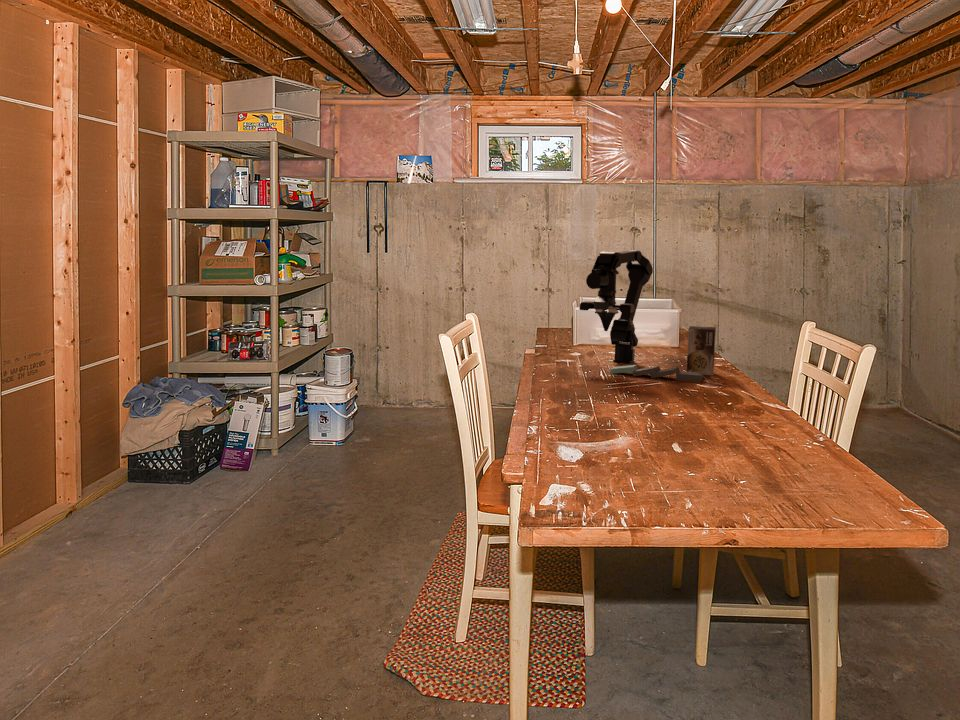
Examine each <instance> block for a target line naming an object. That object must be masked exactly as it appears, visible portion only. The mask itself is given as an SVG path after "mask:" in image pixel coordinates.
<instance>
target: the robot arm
mask: <svg viewBox="0 0 960 720" xmlns="http://www.w3.org/2000/svg"><path fill="white" fill-rule="evenodd" d="M625 263H626V265H625V268H626V270H627V272H628V274H627V276H628V280H629V286H628V289H627V292H626V296H625V300H624V302H623V303H620V304H617V301H616V294H617V288H616V287H617V275H619V270H617V269H618V268H620V267H621V266H622V265H623V264H625ZM653 271H654V269H653V265H652V264H651V261H650V260H649V259H648V258H647V257H645V256H644V255H643V253H642V252H641V250H638V249H629V250H624V251H620V252H618V251H617V252H616V251H615V252H614V251H600V252H599V254H598V255H597V257H596V259H595V262H594V264H593V266H592V268H591V273H589V274H588V275H587V277H586V279H585V281H586V282H585V283H586V285H587V287H588V288H589V289H590V290H591V289H592V290H598V292H597V296H596V297H595V299H594V300H593V301H589V300H588V301H587V300H585V301H582V302H580V303H579V310H580V311H589V310H595V311H594V314H596V315H598V316H599V319H600V321H601V324H602V327H603V331H604V332H608V331H609V329H610V332H609V337H610V343H611V345H613V346H614V359H613V360H612V362H613V363H623V364H624V363H626V364H631V363H633V362H634V361H635V356H636V355H635V354H636V350H635V349H634V348H635V347H638V344H639V339H638V336H637V335H636V328H635V325H634V319H635V315H636V311H637V308H638V305H639V303H640V302H639V301H640V297H641V295H642V290H643V288H644V286H645V285H646V284H647V283H648V282H649V281H650V279H651V277H652V275H653ZM619 313H621V314H620V316H619V318H618V319H614V318H615V315H617V314H619ZM611 323H612V326H611V327H610V325H611Z"/></svg>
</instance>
